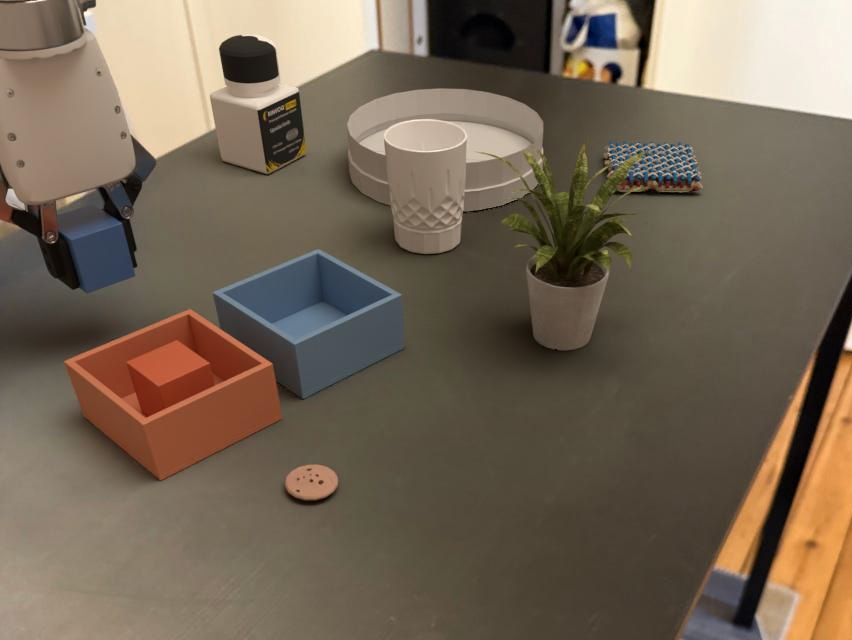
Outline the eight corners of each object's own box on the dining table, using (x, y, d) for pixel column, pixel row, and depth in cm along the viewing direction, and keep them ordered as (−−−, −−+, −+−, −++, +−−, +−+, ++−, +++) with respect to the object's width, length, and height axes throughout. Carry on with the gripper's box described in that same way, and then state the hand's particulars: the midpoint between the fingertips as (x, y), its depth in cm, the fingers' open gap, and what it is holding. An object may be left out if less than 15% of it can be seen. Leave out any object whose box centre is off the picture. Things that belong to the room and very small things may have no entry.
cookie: (302, 510, 66) (300, 500, 65) (275, 481, 68) (273, 470, 67) (349, 490, 67) (347, 480, 67) (321, 462, 69) (320, 451, 69)
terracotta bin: (83, 416, 73) (63, 360, 69) (203, 362, 78) (190, 308, 75) (160, 481, 68) (142, 424, 64) (282, 418, 73) (273, 363, 70)
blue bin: (223, 346, 80) (212, 292, 76) (324, 301, 86) (318, 248, 82) (303, 399, 75) (294, 344, 71) (405, 348, 80) (402, 294, 77)
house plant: (456, 372, 78) (454, 172, 66) (479, 291, 87) (481, 102, 75) (624, 388, 77) (655, 187, 64) (630, 304, 86) (658, 114, 74)
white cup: (378, 250, 92) (370, 144, 85) (405, 217, 97) (400, 114, 90) (452, 263, 91) (451, 156, 83) (476, 228, 96) (477, 124, 88)
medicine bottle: (268, 176, 104) (249, 55, 94) (220, 161, 106) (197, 42, 97) (308, 154, 108) (294, 36, 99) (261, 141, 110) (243, 25, 101)
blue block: (59, 273, 77) (42, 219, 73) (107, 256, 79) (93, 203, 76) (86, 294, 75) (70, 239, 71) (135, 276, 77) (122, 222, 74)
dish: (527, 222, 97) (530, 173, 93) (325, 203, 99) (319, 154, 95) (554, 141, 111) (557, 95, 107) (376, 126, 113) (373, 81, 110)
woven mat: (690, 158, 108) (693, 139, 107) (702, 197, 101) (706, 178, 100) (601, 156, 108) (603, 137, 107) (608, 195, 101) (610, 176, 100)
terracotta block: (141, 412, 73) (125, 361, 69) (189, 389, 75) (176, 339, 72) (172, 436, 71) (158, 386, 67) (221, 412, 73) (209, 362, 69)
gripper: (106, -16, 69) (160, 227, 83) (-125, 27, 61) (-23, 288, 74) (162, 9, 65) (208, 257, 79) (-76, 58, 57) (22, 325, 71)
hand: (96, 270), depth 77 cm, fingers closed on blue block, 4 cm apart
